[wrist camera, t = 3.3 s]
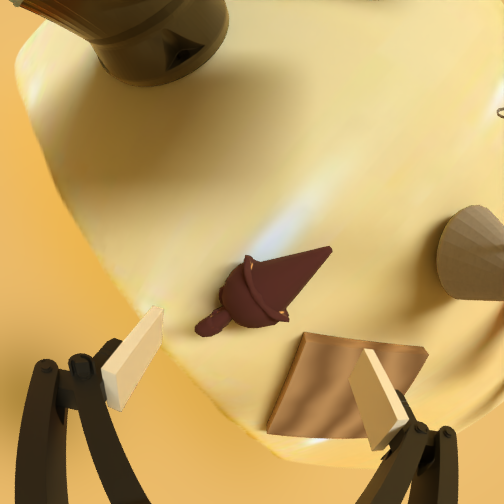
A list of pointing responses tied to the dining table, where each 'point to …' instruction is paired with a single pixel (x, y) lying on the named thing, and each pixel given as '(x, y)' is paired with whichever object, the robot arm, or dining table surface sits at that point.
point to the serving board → (335, 386)
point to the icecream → (262, 291)
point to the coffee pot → (472, 254)
